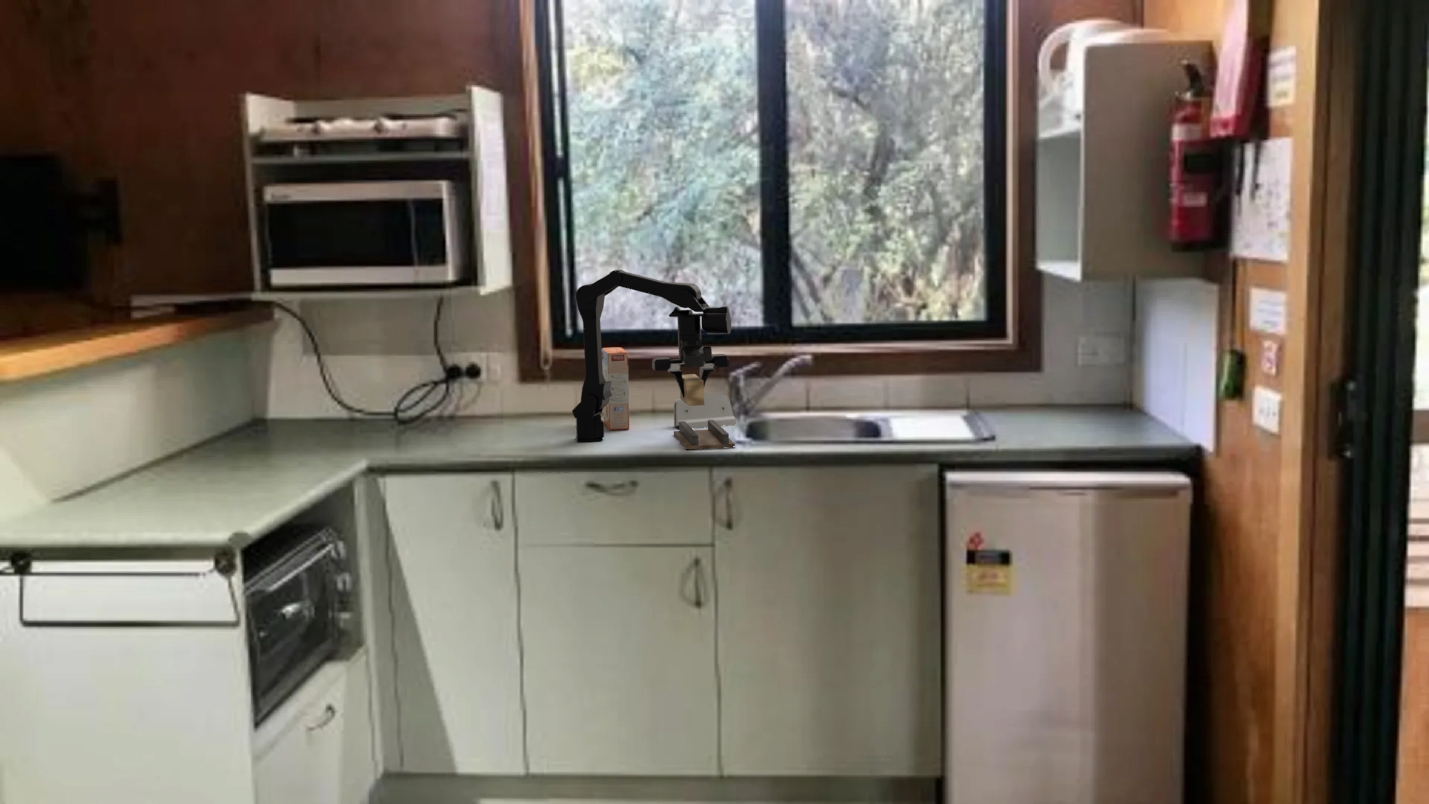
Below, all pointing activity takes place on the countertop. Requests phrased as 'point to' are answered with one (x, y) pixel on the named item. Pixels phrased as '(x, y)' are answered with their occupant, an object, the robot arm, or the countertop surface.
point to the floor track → (703, 436)
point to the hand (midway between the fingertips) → (692, 396)
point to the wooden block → (693, 390)
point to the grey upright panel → (705, 411)
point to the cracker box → (616, 388)
